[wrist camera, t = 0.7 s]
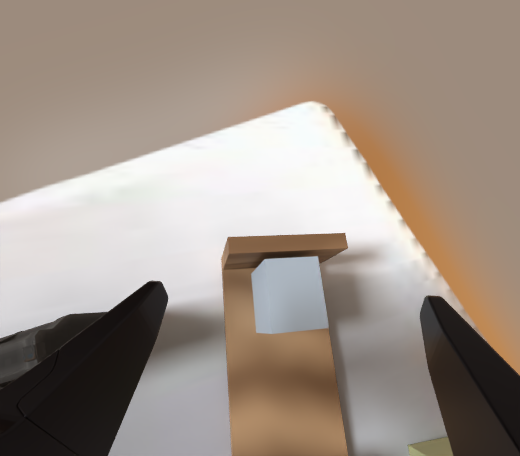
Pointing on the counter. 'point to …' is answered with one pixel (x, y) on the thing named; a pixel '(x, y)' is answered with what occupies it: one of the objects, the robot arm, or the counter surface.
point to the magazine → (39, 344)
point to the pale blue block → (288, 295)
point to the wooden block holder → (278, 360)
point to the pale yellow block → (431, 448)
